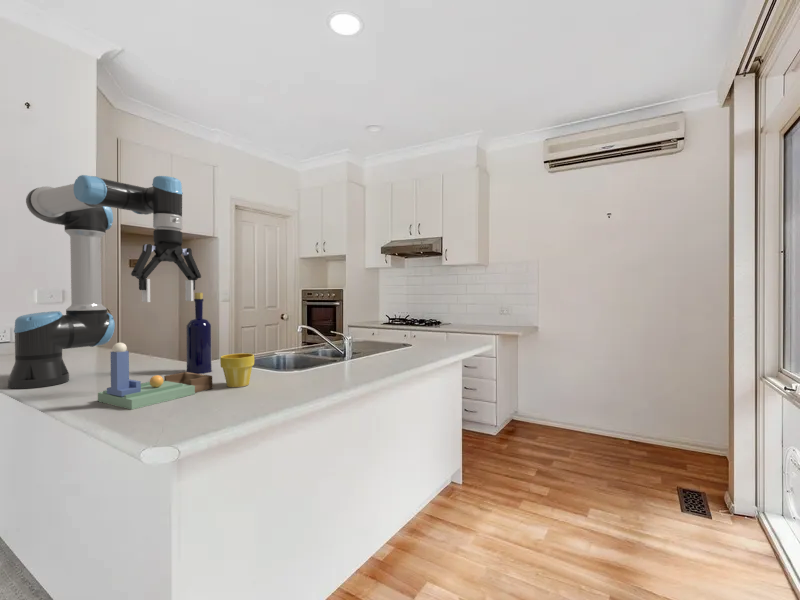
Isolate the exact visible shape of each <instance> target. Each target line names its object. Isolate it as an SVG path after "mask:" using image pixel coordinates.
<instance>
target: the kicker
mask: <svg viewBox="0 0 800 600" xmlns="http://www.w3.org/2000/svg"><path fill="white" fill-rule="evenodd" d="M111 349H112V351H110V387H107V388H106V390H107V394H112V395H116V396H121V397H122V396H124V395H128V394H132V393H137V392H141V383H142V381H140V380H136V379H135V380H134V379H130V354H129V350H128V347H127V344H125V343H124V342H116V343H114V344H113V346H112V348H111Z"/></svg>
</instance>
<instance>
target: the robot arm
mask: <svg viewBox="0 0 800 600" xmlns="http://www.w3.org/2000/svg"><path fill="white" fill-rule="evenodd" d="M151 185H152V186H151V187H143V186H138V185H134V184H129V183H124V182H121V181H120V182H119V181H115V180H111V179H106V178H103V177H102V178H101V177H99V176H95V175H94V176H93V175H86V174H81V175H79V176H77V178H76V179H75V181H74V183H71V184H67V185H62V186H57V187H52V186H41V187H37V188H34V189H32V190H30V191H29V192H28V193H27V195H26V197H25V203H26V204H25V205H26V206H27V209H28V211H29V212H30V213H31V214H32V215H33V216H35V217H36V218H37V219H40V220H41V221H43V222H45V223H48V224H49V223H50V224H54V225H59V226H60V225H61V226H64V232H65V233H66V234H68V236H69V237H70V238H69V239H70V241H69V244H70V247H69V248H70V289H71V291H70V293H71V294H70V295H71V297H70V300H71V304H70V306H68V307H67V308H65V314H63V313H62V312H61V311H60V310H58V311H57V310H56V311H44V312H36V313H35V312H34V313H28V314H22V315H20V316H18V317H16V319H15V322H14V330H13V333H14V365H13V367H12V370H11V372H10V374H9V377H8V379H7V387H8V388H10V389H35V388H42V387H43V388H44V387H49V386H55V385H60V384H65V383H67V382H69V381H70V373H69V371H68V368H67V366H66V363H65V362H64V361H65V360H64V359H63V350H66V349H78V348H88V347H91V348H92V347H97V346H103V345H105V344H108V343H109V341H110V340H111V339H112V338H113V335H114V332H115V327H116V326H115V324H116V323H115V320H114V316H113V315H112V314H111V313H109V312H108V311H107V310H108V308H107V307H105V305H103V304H102V303H103V302H102V257H101V256H102V255H101V253H102V249H101V247H102V246H101V243H102V242H101V240H102V238H103V237H104V236H105V235H106V231H107V230H109V229H111V228H112V226H113V223H114V214H113V209H114V208H115V209H120V210H127V211H132V212H133V213H135V214H137V215H151V214H153V215H152V217H153V219H152V220H153V221H152V222H153V223H152V227H153V229H154V230H153V243H154V245H152V244H150V243H149V244H148V243H147V244H143V245H142V249H141V250H142V252H141V253H140V255H139V257H138V260H137V261H136V263H135V265H134V267H133V269H132V271H131V273H130V275H131V276H132V277H135V278H136V279H137V280H138V290H139V291H141V302H142V303H151V278H148V277H150V275H151V274H152V273H153V272H154V270H155V269H156V268H157V266H158V265H159V264H160V263H161V262H169V263H174V264H176V266H177V267H178V268H179V270H180V271H181V273H183V275H184V276H185V277H186V279H185V280H184V284H185V288H184V289H185V296H184V297H185V298H184V299H185V302H194V291H195V290H196V281H197V280H198V279H201V278H202V275H201V273H200V270H199V268H198V266H197V264H196V262H195V259H194V257H193V254H192V252H193V251H192V249H191V248H189V247H188V248H186V247H185V248H183V247H182V244H183V232H182V230H183V195H184V194H183V190H182V189H183V187H182V182H181V180H180V179H179V178H177V177H174V176H173V177H172V176H167V175H157V176H154V177H153V179H152V184H151ZM112 208H113V209H112ZM153 252H154V255H153V257H152V258H151V260H149V259H150V257H151V255H152V253H153ZM182 255H183V256H182ZM148 261H149V262H148ZM147 263H148V264H147Z"/></svg>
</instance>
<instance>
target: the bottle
mask: <svg viewBox="0 0 800 600" xmlns="http://www.w3.org/2000/svg"><path fill="white" fill-rule="evenodd" d="M203 296H204V292H194V298H193V302H194V312H195V313H194V314H195V315H194V318H193V319H190V321H188V323H187V324H186V372H189V373H196V374H203V375H204V374H208V373H211V372H213V371H212V370H213V369H212V365H213V364H212V357H213V356H212V323H211V322H210V321H209V320H208V319H207V318H203V314H204V312H203V311H204V310H203V309H204V307H203V306H204V304H203V303H204V297H203Z"/></svg>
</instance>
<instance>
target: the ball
mask: <svg viewBox="0 0 800 600" xmlns="http://www.w3.org/2000/svg"><path fill="white" fill-rule="evenodd" d="M163 381H164V378H163V377H162V375H153V376H152V377H151V378H150V379H149V382H150V385H151V386H152V387H160V386H161V385H162V384H163Z"/></svg>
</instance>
